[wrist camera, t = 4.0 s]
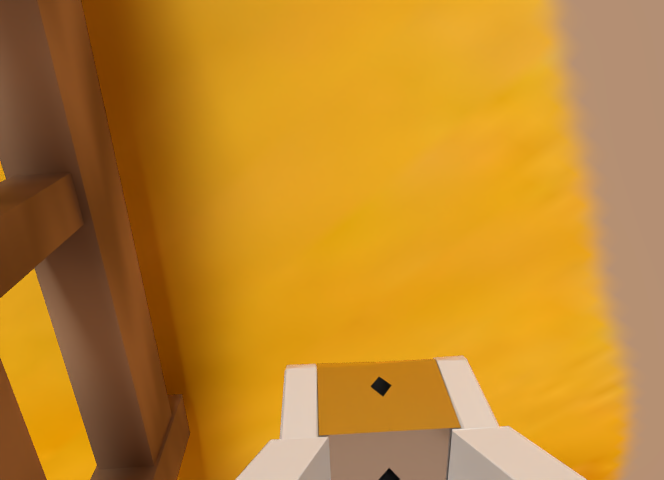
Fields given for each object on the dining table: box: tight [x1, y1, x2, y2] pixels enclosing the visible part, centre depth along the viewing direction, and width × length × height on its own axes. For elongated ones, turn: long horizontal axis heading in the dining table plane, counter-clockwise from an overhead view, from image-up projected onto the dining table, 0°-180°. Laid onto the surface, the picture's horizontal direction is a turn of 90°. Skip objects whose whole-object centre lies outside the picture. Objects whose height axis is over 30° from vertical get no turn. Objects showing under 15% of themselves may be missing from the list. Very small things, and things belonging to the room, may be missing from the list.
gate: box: [0, 0, 190, 480], centre depth 9 cm, size 20×3×10 cm, turn 2°
